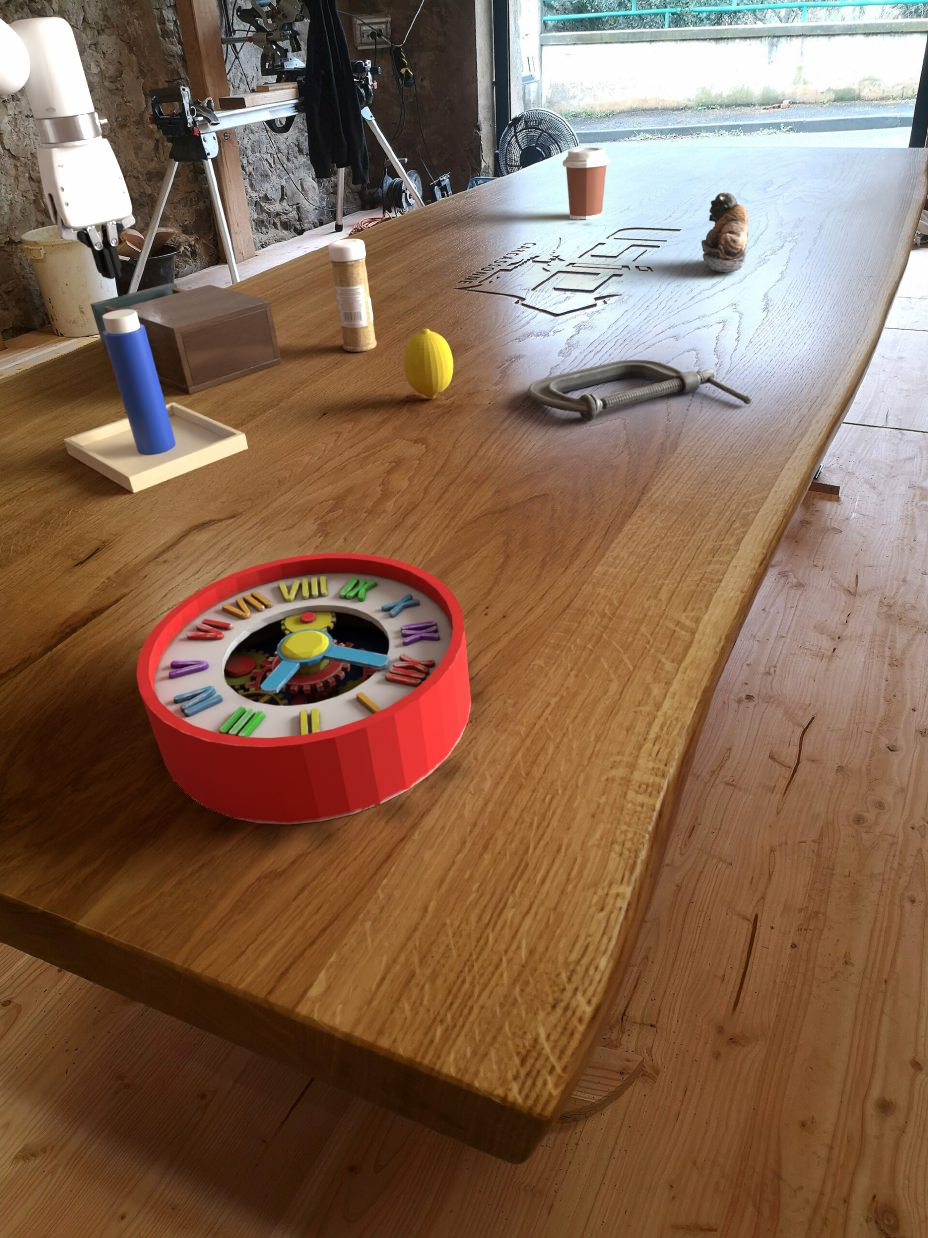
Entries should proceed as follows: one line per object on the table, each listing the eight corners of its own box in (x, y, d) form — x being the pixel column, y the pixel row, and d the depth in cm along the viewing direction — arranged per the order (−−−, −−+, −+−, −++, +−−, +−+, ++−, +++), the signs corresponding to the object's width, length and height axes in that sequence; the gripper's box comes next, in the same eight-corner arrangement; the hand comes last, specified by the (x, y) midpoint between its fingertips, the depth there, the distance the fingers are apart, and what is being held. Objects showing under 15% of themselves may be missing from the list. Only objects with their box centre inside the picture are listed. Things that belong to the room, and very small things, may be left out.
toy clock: (253, 537, 66) (509, 574, 59) (268, 603, 69) (513, 646, 63) (62, 705, 51) (376, 782, 44) (93, 779, 54) (390, 861, 48)
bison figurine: (751, 275, 136) (759, 203, 131) (704, 278, 137) (710, 206, 131) (738, 256, 146) (745, 189, 140) (694, 259, 147) (699, 192, 141)
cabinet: (134, 371, 119) (116, 308, 114) (222, 343, 126) (209, 284, 122) (189, 394, 110) (173, 328, 105) (281, 363, 117) (269, 300, 113)
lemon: (464, 393, 104) (459, 323, 99) (439, 410, 100) (433, 338, 95) (424, 387, 106) (417, 319, 102) (398, 403, 102) (390, 333, 98)
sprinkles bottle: (382, 343, 121) (370, 237, 114) (366, 354, 118) (352, 246, 110) (353, 341, 123) (339, 236, 115) (336, 351, 120) (320, 245, 112)
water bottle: (130, 448, 96) (90, 315, 88) (164, 436, 98) (128, 305, 90) (148, 458, 93) (109, 322, 85) (182, 445, 95) (147, 311, 87)
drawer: (90, 344, 127) (76, 298, 124) (168, 322, 134) (157, 278, 130) (150, 368, 116) (136, 319, 113) (232, 343, 123) (221, 296, 119)
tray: (68, 453, 97) (63, 439, 96) (176, 415, 104) (173, 401, 103) (133, 493, 88) (128, 477, 87) (248, 448, 95) (245, 433, 94)
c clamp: (665, 359, 108) (666, 337, 107) (752, 405, 95) (755, 380, 93) (512, 391, 103) (511, 368, 102) (581, 445, 90) (582, 419, 88)
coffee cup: (585, 209, 186) (585, 145, 179) (618, 214, 180) (620, 147, 173) (553, 217, 182) (552, 151, 175) (586, 222, 176) (586, 154, 169)
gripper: (109, 121, 123) (147, 261, 134) (1, 139, 115) (50, 285, 126) (135, 123, 119) (171, 267, 129) (24, 141, 111) (73, 293, 121)
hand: (111, 276), depth 127 cm, fingers closed
